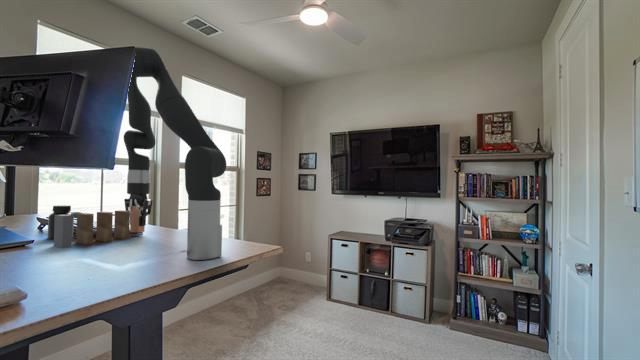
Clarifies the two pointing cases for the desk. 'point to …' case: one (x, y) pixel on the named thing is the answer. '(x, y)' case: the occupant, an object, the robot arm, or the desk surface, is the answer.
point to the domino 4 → (135, 220)
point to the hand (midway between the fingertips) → (137, 225)
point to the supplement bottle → (56, 211)
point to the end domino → (63, 231)
